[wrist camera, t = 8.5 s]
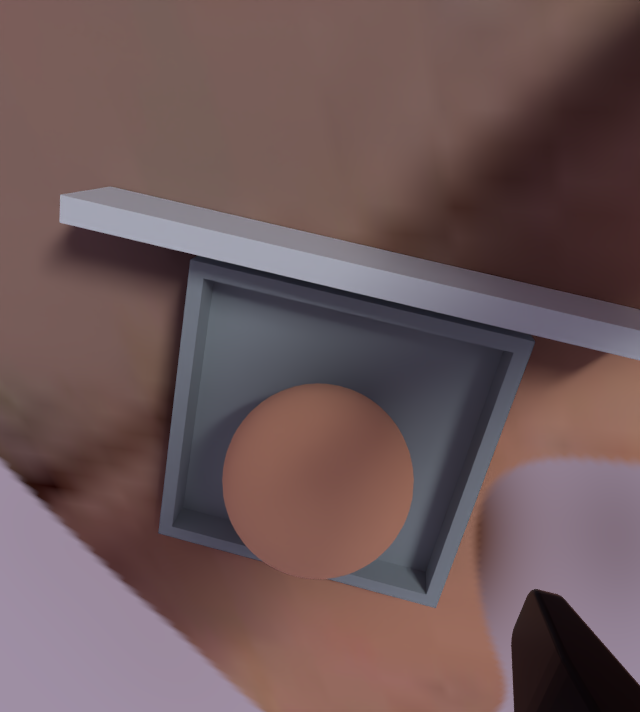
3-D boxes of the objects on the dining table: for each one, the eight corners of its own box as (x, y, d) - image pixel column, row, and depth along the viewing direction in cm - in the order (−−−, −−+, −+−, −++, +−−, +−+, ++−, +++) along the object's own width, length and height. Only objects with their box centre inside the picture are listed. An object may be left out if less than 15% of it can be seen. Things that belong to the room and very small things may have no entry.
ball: (431, 378, 20) (444, 474, 14) (388, 517, 22) (385, 647, 16) (262, 338, 20) (210, 417, 14) (237, 479, 22) (184, 595, 17)
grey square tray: (526, 326, 19) (535, 341, 17) (433, 579, 23) (435, 608, 21) (205, 250, 19) (190, 259, 18) (173, 510, 24) (158, 533, 22)
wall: (650, 312, 18) (694, 343, 15) (640, 335, 18) (681, 370, 16) (111, 186, 19) (60, 194, 16) (109, 210, 19) (59, 222, 17)
